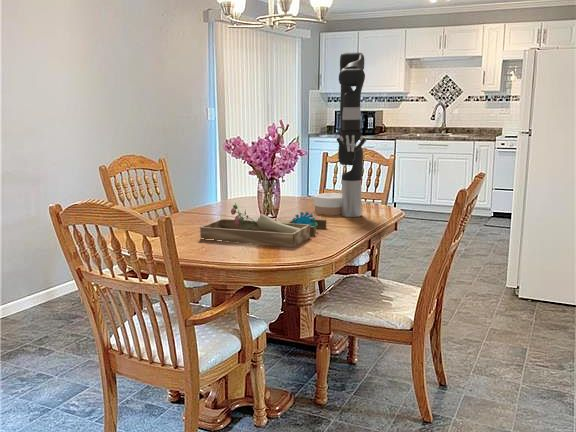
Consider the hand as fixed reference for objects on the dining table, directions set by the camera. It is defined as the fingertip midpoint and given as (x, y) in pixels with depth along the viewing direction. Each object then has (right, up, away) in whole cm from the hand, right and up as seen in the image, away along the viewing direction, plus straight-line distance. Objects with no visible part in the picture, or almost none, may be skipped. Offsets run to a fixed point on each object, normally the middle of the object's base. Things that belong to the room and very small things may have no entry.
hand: (351, 160), depth 241 cm
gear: (-19, -30, +2) cm, 36 cm away
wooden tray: (-40, -32, -10) cm, 52 cm away
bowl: (-5, -21, +45) cm, 50 cm away
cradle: (-19, -29, +3) cm, 35 cm away
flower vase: (-36, -32, -7) cm, 49 cm away
